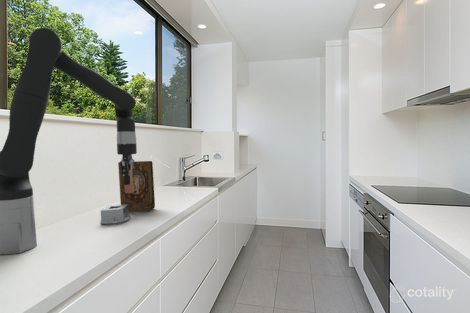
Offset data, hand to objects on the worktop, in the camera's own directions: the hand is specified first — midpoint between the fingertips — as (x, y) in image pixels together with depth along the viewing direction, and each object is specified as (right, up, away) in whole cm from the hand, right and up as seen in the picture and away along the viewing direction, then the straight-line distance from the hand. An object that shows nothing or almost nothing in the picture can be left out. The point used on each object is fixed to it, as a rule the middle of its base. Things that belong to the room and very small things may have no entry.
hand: (128, 183), depth 108 cm
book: (-5, -16, +23) cm, 29 cm away
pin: (0, -4, 0) cm, 4 cm away
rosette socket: (-8, -17, +7) cm, 20 cm away
